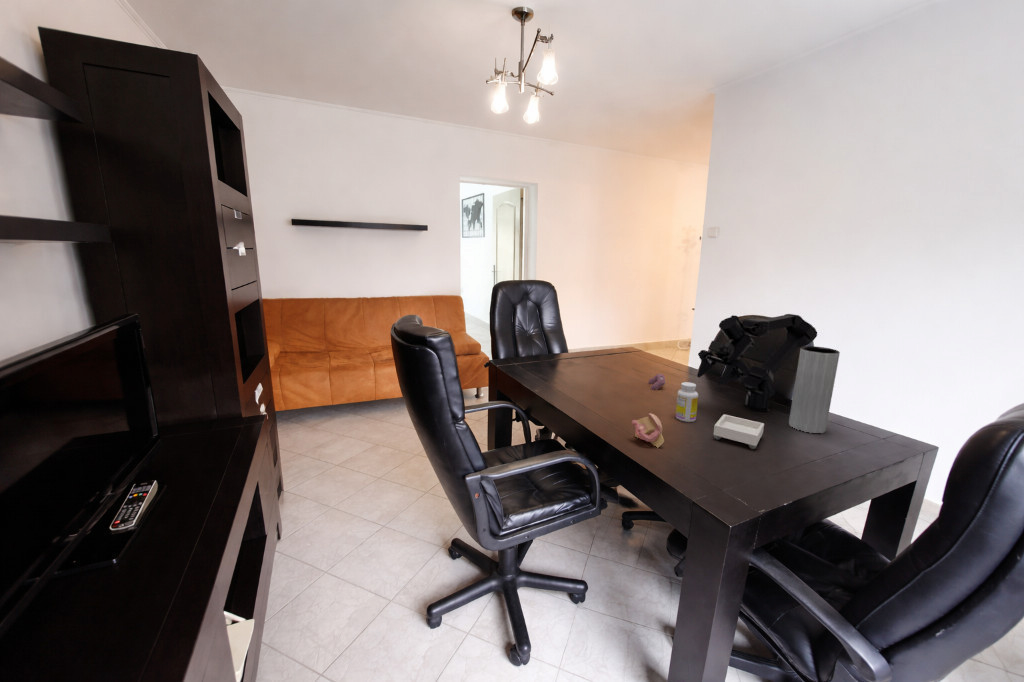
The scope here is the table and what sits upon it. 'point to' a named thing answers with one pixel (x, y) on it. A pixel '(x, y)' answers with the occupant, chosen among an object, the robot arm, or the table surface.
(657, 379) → the purple lumpy piece
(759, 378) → the robot arm
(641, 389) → the table surface
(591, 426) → the table surface
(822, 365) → the vase
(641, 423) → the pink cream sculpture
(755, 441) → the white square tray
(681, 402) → the supplement bottle
